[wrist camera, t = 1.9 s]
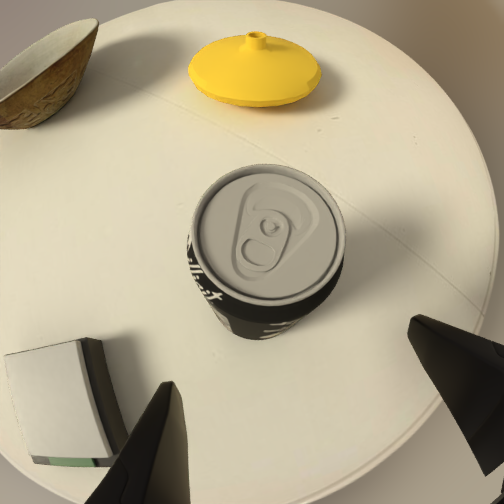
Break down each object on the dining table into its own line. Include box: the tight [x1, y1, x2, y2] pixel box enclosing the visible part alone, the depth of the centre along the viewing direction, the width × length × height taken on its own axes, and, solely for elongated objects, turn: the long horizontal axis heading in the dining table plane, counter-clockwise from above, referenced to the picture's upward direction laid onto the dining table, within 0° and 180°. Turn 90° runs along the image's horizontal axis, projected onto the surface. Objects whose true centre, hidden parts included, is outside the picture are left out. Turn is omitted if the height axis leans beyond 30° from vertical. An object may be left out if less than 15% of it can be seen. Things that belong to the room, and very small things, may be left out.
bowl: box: [0, 18, 99, 130], centre depth 26 cm, size 24×24×10 cm
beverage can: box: [187, 164, 346, 340], centre depth 16 cm, size 7×7×12 cm
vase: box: [188, 31, 322, 107], centre depth 28 cm, size 16×16×7 cm
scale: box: [4, 337, 129, 467], centre depth 16 cm, size 10×10×3 cm
